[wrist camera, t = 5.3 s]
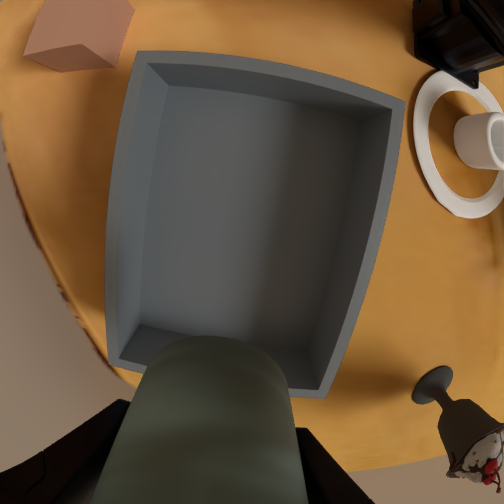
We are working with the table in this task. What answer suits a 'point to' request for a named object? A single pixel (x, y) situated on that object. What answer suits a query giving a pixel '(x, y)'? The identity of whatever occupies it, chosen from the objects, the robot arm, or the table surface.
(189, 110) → the tote
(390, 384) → the table surface
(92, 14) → the cube
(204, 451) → the cylinder
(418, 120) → the candle holder
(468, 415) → the sundae
